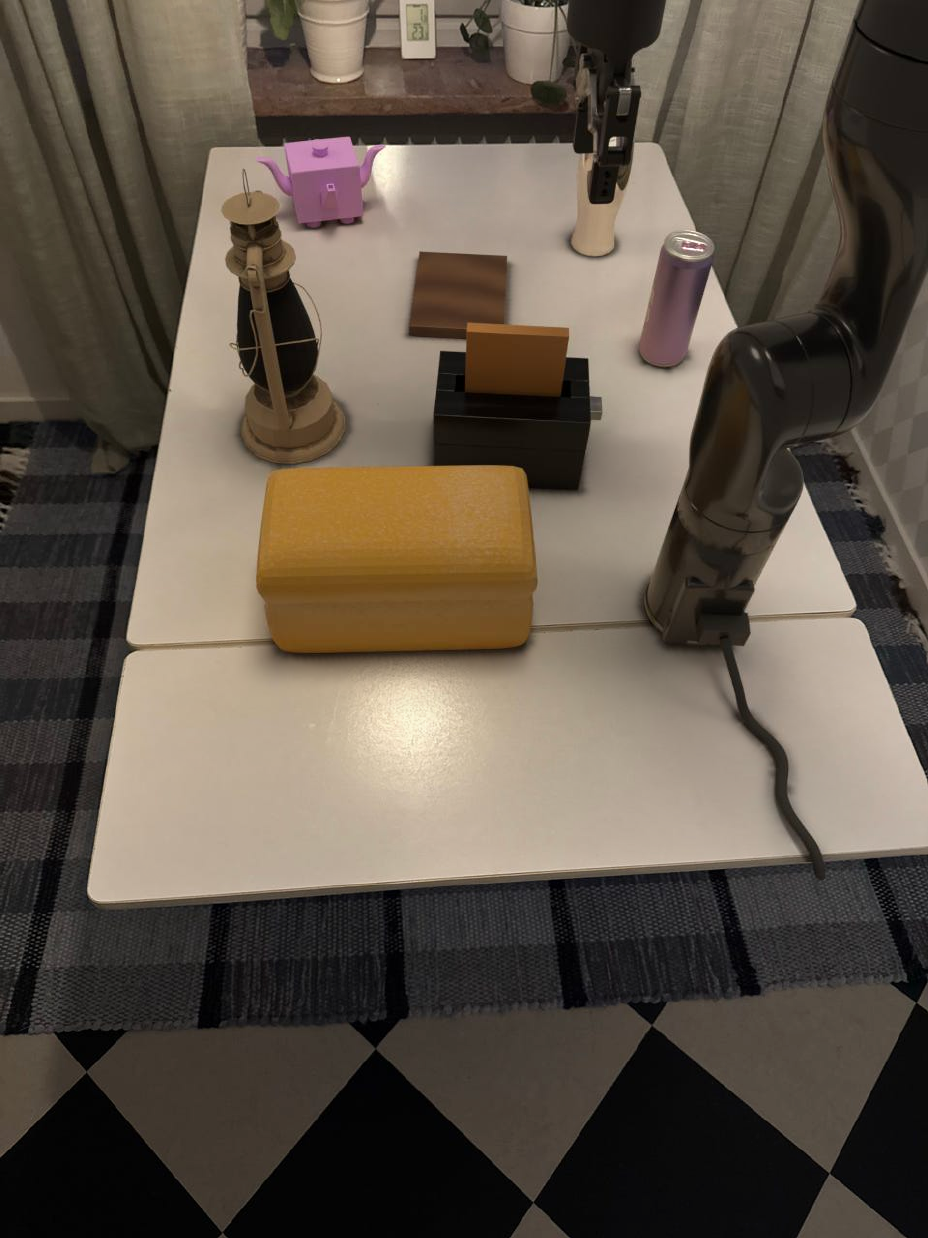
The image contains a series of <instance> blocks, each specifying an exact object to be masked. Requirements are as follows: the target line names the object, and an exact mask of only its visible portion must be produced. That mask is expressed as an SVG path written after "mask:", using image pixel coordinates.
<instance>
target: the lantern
mask: <svg viewBox="0 0 928 1238" xmlns="http://www.w3.org/2000/svg"><path fill="white" fill-rule="evenodd" d="M241 173H242V185H243V190H244V192H241V193H238V194H235V195H232V196H231V197H229V198H227V199H226V200H225V201H224V202H223V204H222V205H221V209H220V211H221V214H222V216H223V218H225V219H226V220H228V221H229V224H230V225H229V226H230V227H229V231H230V242H231V243H232V247H231V248H230V249H229V250H227V252H226V255H225V257H224V262H225V266H226V268H227V269H228V271H229V272H230V274H233V275H235V276H236V277H237V278H238V283H239V286H238V295H237V313H236V315H237V317H236V335H235V337H236V339H235V343H234V342H230V343H229V347H230V348H231V349H233V350H236V351H237V354H238V358H239V362H238V369H239V370H241V373H242V376H243V377H245V378H247V377H248V378H249V379H250V380H251V381H252V382H253V384H252V385H251V386H250V388H249V389H248V392H247V393H246V395H245V397H244V398H245V399H244V401H245V402H244V410H245V414H246V415H245V416H244V418H243V419H242V423H241V433H240V434H241V437H242V439H243V441H244V444H245V446H246V448H247V449H248V450H249V451H251V453H253V454H254V455H255V456H256V457H258V458H259V459H263V460H266V461H268V462H270V463H273V464H282V465H283V464H286V465H297V464H302V463H308V462H313V461H314V460H316V459H319V458H321V457H323V456H325V455H328V454H329V453H330V452H331V451H332V450H333V449H334V448H336V446H337V445H339V444H340V442H341V440H342V438H343V436H344V434H345V432H346V416H345V414H344V412H343V411H342V409H341V407H340V405H339V404H338V403H336V401H334V399H333V392H332V390H331V389H330V387H329V385H328V384H327V382H325V380H323V379H322V378H320V377H319V376H318V375H316V374H315V372H316V371H317V366H318V361H319V356H320V351H321V347H322V346H321V345H322V338H323V327H322V321H321V318H320V313H319V311H318V308H317V306H316V303H315V302H314V300H313V298H312V296H311V294H310V293H309V292H308V290H307V289H306V288H305V287H304V286H303V285H301V284H299V283H297V282H294V281H293V280H292V278H291V274H290V270H291V268H292V267H293V266H294V265H295V262H296V259H297V256H296V252H295V249H294V248H293V246H292V244H290V243H288V242H287V241H285V240H283V239H282V236H283V234H282V230H281V229H280V224H279V222H278V219H277V215H278V213H279V211H280V207H281V205H280V204H281V203H280V202H279V200H278V199H277V198H276V197H274V196H273V195H271V194H269V193H266V192H263V191H262V190H260V189H256V190H253V191H250V187H249V182H248V176H247V172H246V169H245V168H242V171H241ZM245 182H246V184H245ZM245 185H246V186H245ZM246 188H247V190H246ZM296 286H298V287H300V288H301V289H303V290H304V292H305V293H306V295H307V296H308V297H309V299H310V300H311V302H312V304H313V307H314V309H315V312H316V315H317V318H318V322H319V329H320V336H319V337H320V338H318V337H316V333H315V329H314V327H313V324H312V321H311V318H310V315H309V314H308V311H307V309H306V307H305V304H304V302H303V300H302V298H301V295H300V293H299V291H298V289H297V287H296ZM232 345H233V346H232ZM234 346H236V347H234ZM241 365H242V366H241Z"/></svg>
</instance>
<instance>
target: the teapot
mask: <svg viewBox="0 0 928 1238" xmlns="http://www.w3.org/2000/svg"><path fill="white" fill-rule="evenodd" d="M283 146H284V147H283V148H284V153H285V161H286V166H287V172H288V173H287V174H288V175H285V174H284V173H283V172H282V171H281V169H280V168H279V165H278V164H277V162H276V161H275V160H274V159H272V158H270V157H267V156H266V157H265V156H263V157H262V156H261V157H256V158H255V159H254V161H256V162H257V163H259V164H263V165H264V166H265V167H267V168H268V170H269V171H270V173H271V175H272V176H273V179H274V181H275V183H276V186H277V187H278V188H279V189H280V191H281V192H282V193H283V194H284V195H286V196H287V197H291V198H292V201H293V206H294V209H295V214H296V218H297V222H298V224H306V225H307V226H308V227H309V228H312V229H313V228H319V227H320V226H321V225H322V222H325V221H332V220H340V222H341V223H342V224H345V225H346V224H347V225H348V224H352V223H353V222H354V221H355V219H354V218H358V217H364V216H365V214H364V204H363V203H364V202H363V201H364V200H363V189H364V188H365V187H366V186H367V185H368V183H369V181H370V178H371V177H372V176H371V175H372V170H373V165H374V161H375V159H376V156H377V155H378V154H379V152H381V151H382V150H384V149H385V148H386V147H387V146H386V145H385V144H377V145H373V146H371V147H370V148H369V149H368V150H367V152H366V154H365V157H364V161H363V163H362V164H361V165H360V164H359V161H358V157H357V154H356V151H355V148H354V145H353V141H352V140H351V137H350V136H341V137H332V138H323V139H319V138H316V139H313V140H304V141H293V142H285V143H284V144H283Z"/></svg>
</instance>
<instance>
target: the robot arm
mask: <svg viewBox="0 0 928 1238" xmlns="http://www.w3.org/2000/svg"><path fill="white" fill-rule="evenodd" d="M666 4H667V0H568V4H567V6H568V7H567V13H566V14H567V15H566V30H567V33H568V34H569V36H570V37H571V39H572V40H573V41H574V42H576V43H577V49H576V57H575V65H574V74H573V79H572V84H571V85H572V87H573V91H574V92H575V91H576V94H575V97H574V104H575V108H576V114H575V123H574V132H573V138H572V139H573V140H572V149H573V152H574V153H575V154H576V155H577V154H578V155H580V154H587V153H593V155H592V156H593V163H592V170H591V177H590V184H589V191H588V198H589V202H590V203H591V204H610V203H611V202H612V201H613V200H614V195H615V189H616V183H617V177H618V171H619V166H629V163H630V161H631V152H632V145H633V139H634V134H635V132H636V127H637V121H638V120H637V119H638V113H639V108H640V102H641V98H642V89H641V85H639V84H638V85H636V74H637V73H636V67H635V66H633V57H634V55H635V54H637V53H638V52H640V51H641V50H644V49H646V48H649V47H650V46H652V45H654V43H656V42H657V40H658V39H659V37H660V34H661V33H662V26H663V21H664V16H665V15H664V14H665V10H666ZM821 126H822V127H821V128H822V129H821V130H822V144H823V152H824V158H825V164H826V168H827V172H828V178H829V183H830V186H831V191H832V194H833V198H834V203H835V206H836V209H837V210H836V211H837V216H838V220H839V231H840V232H839V233H840V234H839V242H838V246H837V247H838V248H837V251H836V254H835V258H834V261H833V264H832V267H831V269H830V272H829V274H828V278H827V279H826V282H825V285H824V287H823V288H822V291H821V294H820V295H819V297H818V299H817V300H816V301H815V303H814V305H813V306H812V307H811V308H810V309H809V310H808V311H807V312H803V313H799V314H793V315H790V316H789V315H788V316H784V317H779V318H774V319H770V320H763V321H759V322H755V323H750V324H746V325H741V326H738V327H735V328H734V329H732V330H730V331H729V332H727V334H726V335H725V336H724V337H723V338H722V339H721V340H720V342H719V343H718V345H717V347H716V348H715V350H714V351H713V354H712V356H711V359H710V362H709V364H708V366H707V370H706V374H705V376H704V377H705V378H704V381H703V386H702V390H701V393H700V394H701V395H700V398H699V402H698V405H697V410H696V414H695V417H694V422H693V425H692V429H691V433H690V439H689V447H688V449H689V450H688V453H689V454H688V469H687V471H686V475H685V478H684V480H683V481H684V482H683V484H682V487H681V490H680V493H679V495H678V499H677V502H676V505H675V507H674V510H673V513H672V516H671V519H670V521H669V523H668V524H669V525H668V528H667V530H666V533H665V537H664V539H663V542H662V545H661V548H660V551H659V553H658V556H657V559H656V563H655V566H654V568H653V572H652V575H651V578H650V581H649V582H648V584H647V587H646V589H645V593H644V599H643V604H644V609H645V612H646V615H647V617H648V619H649V620H650V623H652V625H653V626H654V627H655V629H657V630H658V631H659V632H660V633H661V634H662V641H663V643H665V644H674V645H688V646H707V647H708V646H709V647H721V651H722V654H723V658H724V662H725V665H726V668H727V672H728V675H729V678H730V682H731V685H732V689H733V692H734V693H733V694H734V697H735V702H736V707H737V710H738V713H739V715H740V717H741V719H742V721H743V722H744V724H745V725H746V727H748V728H749V730H750V731H751V732H752V733H753V734H755V735H756V736H757V737H758V738H759V739H760V740H761V741H763V742H764V743H765V744H766V745H767V746H768V747H769V748H770V749H771V751H772V753H773V754H774V756H775V760H776V763H777V764H776V765H777V772H776V779H775V780H776V782H775V795H776V800H777V802H778V806H779V809H780V811H781V813H782V814H783V815H782V816H784V818H785V820H786V821H787V823H788V824H789V826H790V827H791V828H792V830H793V832H795V834H796V835H797V836H798V838H799V839H800V840H801V842H802V844H803V845H804V848H806V851H807V852H808V855H809V857H810V860H811V864H812V869H813V875H814V877H815V878H816V879H818V881H824V880H825V879H826V868H825V860H824V858H823V854H822V852H821V849H820V848H819V845H818V844H817V842H816V840H815V839H814V837H813V835H812V834H811V833H810V831H809V830H808V829H807V827H806V826H805V825H804V823H803V822H802V820H801V819H800V818H799V817H798V815H797V814H796V812H795V811H794V809H793V807H792V804H791V801H790V799H789V795H788V779H789V771H790V770H789V766H790V765H789V759H788V756H787V753H786V751H785V749H784V747H783V746H782V745H781V743H780V741H779V740H778V739H777V738H775V736H774V735H772V733H770V732H769V731H768V730H767V729H765V728H764V727H763V726H762V725H761V724H760V723H759V722H758V721H757V719H756V718H754V716H753V715H752V713H751V711H750V708H749V706H748V705H749V704H748V702H747V698H746V697H747V696H746V693H745V688H744V685H743V681H742V678H741V674H740V671H739V667H738V664H737V661H736V657H735V654H734V650H733V647H744V646H746V643H747V641H748V640H749V637H750V636H751V634H752V630H751V626H750V619H749V613H748V612H746V609H747V607H748V605H749V603H750V601H751V599H752V597H753V596H754V594H755V591H756V588H755V586H756V584H757V582H758V580H759V578H760V576H761V574H762V573H763V571H764V569H765V566H766V565H767V562H768V560H769V559H770V557H771V555H772V552H773V551H774V549H775V547H776V545H777V543H778V541H779V539H780V537H781V535H782V534H783V532H784V529H785V528H786V526H787V524H788V522H789V520H790V519H791V516H792V514H793V512H794V511H795V509H796V507H797V505H798V503H799V500H800V499H801V496H802V494H803V491H804V485H805V476H804V471H803V468H802V466H801V464H800V462H799V460H798V459H797V457H796V456H795V455H794V454H793V452H792V451H791V450H790V448H795V447H798V446H803V445H806V444H811V443H815V442H819V441H823V440H827V439H831V438H834V437H837V436H840V435H842V434H843V435H844V434H845V433H847V432H850V431H851V430H853V429H854V428H855V427H857V426H858V425H859V424H860V423H862V422H863V421H864V420H865V419H866V417H867V416H868V415H869V413H870V412H871V410H872V409H873V408H874V406H875V404H876V403H877V400H878V399H879V397H880V394H881V392H882V390H883V388H884V385H885V383H886V381H887V379H888V376H889V374H890V371H891V368H892V366H893V364H894V361H895V358H896V356H897V353H898V350H899V347H900V346H901V343H902V340H903V337H904V334H905V332H906V329H907V326H908V324H909V321H910V318H911V316H912V313H913V310H914V308H915V305H916V303H917V300H918V297H919V295H920V293H921V290H922V289H923V285H924V283H925V280H926V278H927V277H928V0H858V2H857V6H856V8H855V11H854V15H853V18H852V20H851V23H850V26H849V29H848V33H847V35H846V38H845V41H844V44H843V47H842V50H841V54H840V56H839V59H838V62H837V65H836V68H835V70H834V73H833V78H832V80H831V83H830V87H829V91H828V93H827V96H826V101H825V104H824V110H823V115H822V125H821ZM612 137H616V146H609V141H610V139H611V138H612ZM732 646H733V647H732Z"/></svg>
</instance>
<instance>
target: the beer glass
mask: <svg viewBox="0 0 928 1238" xmlns="http://www.w3.org/2000/svg"><path fill="white" fill-rule="evenodd" d="M635 143H636V134H635V133H634V139H633V145H632V152H631V161H630V163H629V166H619V171H618V177H617V183H616V189H615V195H614V200H613V201H612V202H611V203H610V204H591V203H590V202H589V198H588V191H589V184H590V177H591V170H592V163H593V156H592V155H593V153H587V154H579V156H578V163H577V172H576V200H577V203H576V204H577V217H576V224H575V227H574V230H573V233H572V235H571V240H570V244H571V247H572V248H573V249H574V251H576V252H577V253H579V254H581V255H583V256H587V257H603V256H605V255H608V254H610V253H611V252H612V251H613V249H614V247H615V226H616V220H617V218H618V214H619V211H620V209H621V205H622V203H623V201H624V198H625V195H626V192H627V189H628V186H629V183H630V178H631V173H632V169H633V161H634V153H635V152H634V151H635ZM609 146H616V137H612V138H611V139H610V141H609Z"/></svg>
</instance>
